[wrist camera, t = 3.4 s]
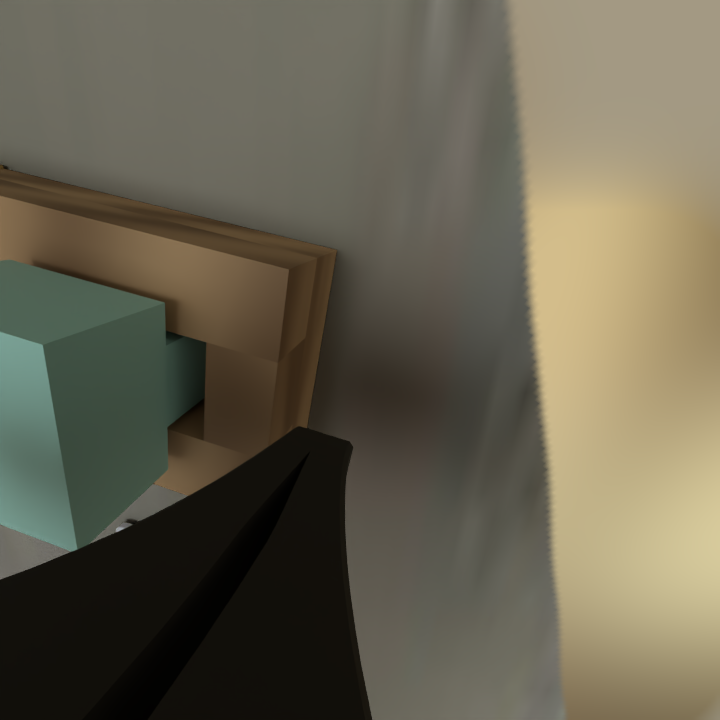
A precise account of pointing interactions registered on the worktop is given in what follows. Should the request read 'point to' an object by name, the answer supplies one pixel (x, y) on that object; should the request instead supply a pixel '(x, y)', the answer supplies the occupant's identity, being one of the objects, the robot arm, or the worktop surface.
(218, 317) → the slotted wooden block
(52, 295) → the block
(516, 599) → the worktop surface
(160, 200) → the worktop surface
